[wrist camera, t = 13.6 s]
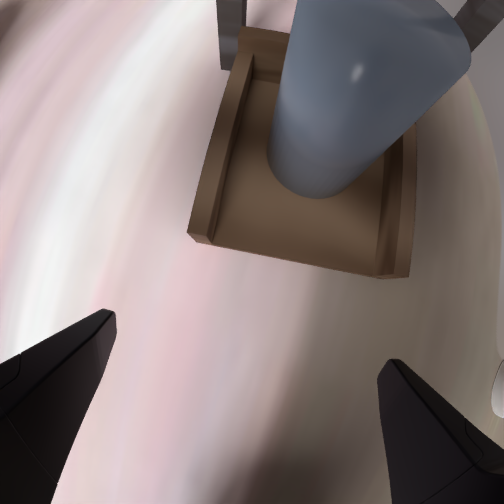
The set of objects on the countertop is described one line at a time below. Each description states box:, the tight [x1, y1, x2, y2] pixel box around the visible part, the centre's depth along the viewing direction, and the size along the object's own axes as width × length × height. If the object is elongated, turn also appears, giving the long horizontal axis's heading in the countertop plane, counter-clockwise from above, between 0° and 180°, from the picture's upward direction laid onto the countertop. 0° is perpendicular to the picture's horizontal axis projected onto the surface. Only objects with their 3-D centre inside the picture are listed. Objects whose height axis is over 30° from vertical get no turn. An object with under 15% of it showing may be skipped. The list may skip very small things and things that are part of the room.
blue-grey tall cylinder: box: [267, 0, 471, 199], centre depth 13 cm, size 6×6×12 cm
